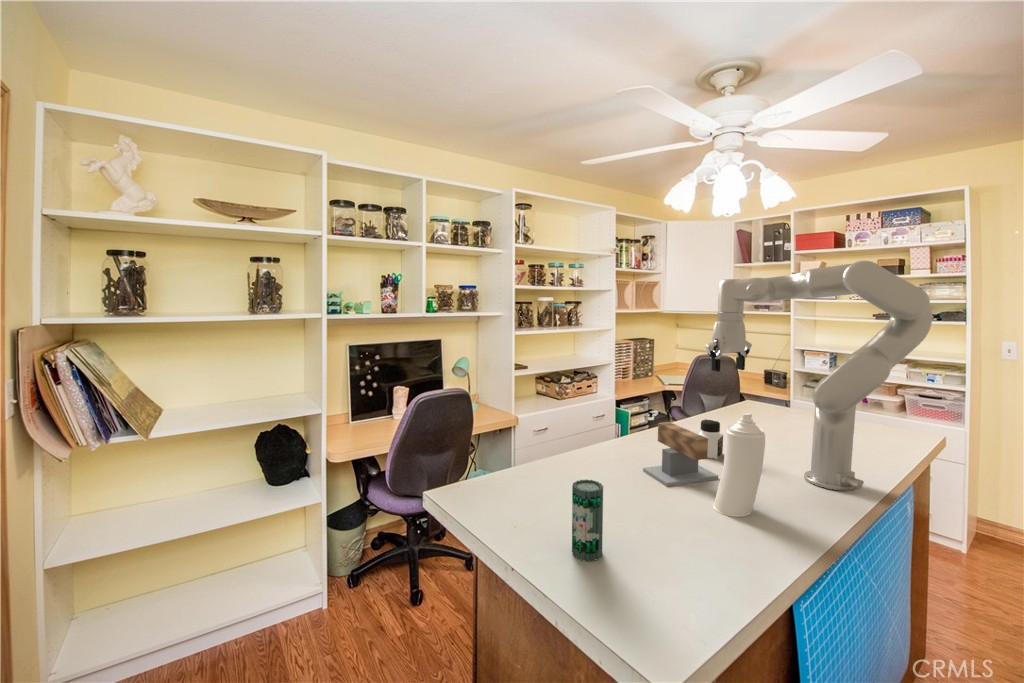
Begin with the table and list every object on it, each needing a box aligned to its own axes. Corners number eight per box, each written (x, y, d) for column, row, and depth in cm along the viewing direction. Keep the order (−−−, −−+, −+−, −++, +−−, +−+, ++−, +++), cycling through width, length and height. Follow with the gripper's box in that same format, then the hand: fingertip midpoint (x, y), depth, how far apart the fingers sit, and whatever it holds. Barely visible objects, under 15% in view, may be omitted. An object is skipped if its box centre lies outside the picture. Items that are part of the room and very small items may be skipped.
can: (567, 554, 96) (567, 486, 95) (581, 542, 101) (582, 477, 99) (593, 564, 92) (593, 494, 91) (606, 551, 97) (607, 484, 96)
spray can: (721, 494, 124) (724, 405, 122) (764, 506, 118) (769, 411, 115) (708, 510, 115) (712, 414, 113) (755, 523, 109) (760, 421, 106)
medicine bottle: (717, 459, 151) (719, 424, 150) (695, 455, 155) (696, 421, 154) (722, 453, 157) (724, 420, 155) (701, 449, 161) (702, 416, 160)
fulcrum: (718, 478, 135) (719, 452, 135) (666, 486, 130) (667, 459, 129) (691, 464, 147) (692, 440, 146) (643, 471, 142) (643, 446, 141)
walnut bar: (707, 458, 130) (708, 438, 129) (695, 460, 128) (696, 439, 128) (668, 439, 147) (668, 421, 146) (657, 441, 146) (658, 422, 145)
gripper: (742, 316, 152) (740, 367, 154) (699, 317, 147) (697, 369, 149) (761, 317, 145) (758, 370, 146) (716, 318, 140) (714, 373, 141)
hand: (728, 370), depth 148 cm, fingers open, 9 cm apart
